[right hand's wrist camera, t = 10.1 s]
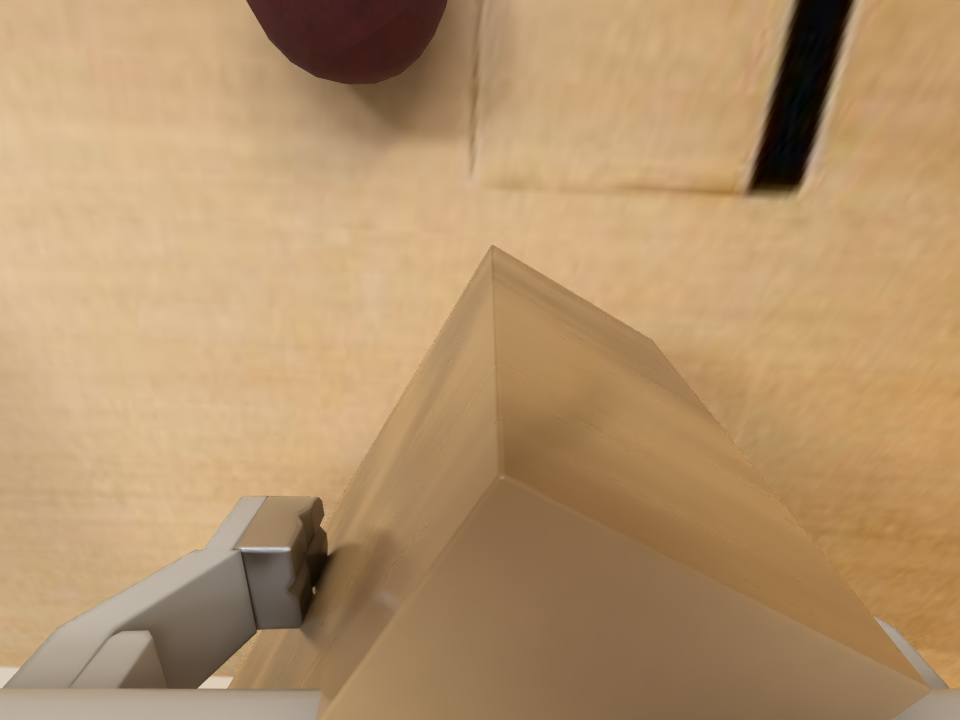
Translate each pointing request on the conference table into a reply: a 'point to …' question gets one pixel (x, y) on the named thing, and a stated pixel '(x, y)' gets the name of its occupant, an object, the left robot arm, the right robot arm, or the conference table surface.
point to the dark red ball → (350, 35)
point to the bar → (570, 547)
